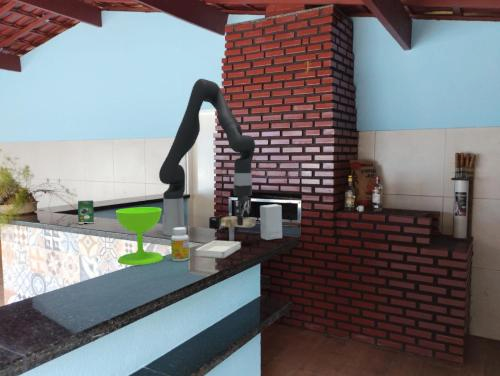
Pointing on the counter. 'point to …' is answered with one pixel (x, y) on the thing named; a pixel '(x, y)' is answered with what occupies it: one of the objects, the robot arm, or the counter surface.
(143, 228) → the wineglass
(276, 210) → the skincare box
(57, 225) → the counter surface
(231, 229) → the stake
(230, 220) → the tan irregular block
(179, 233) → the supplement bottle
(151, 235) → the counter surface
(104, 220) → the counter surface
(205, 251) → the tray
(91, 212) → the coffee box
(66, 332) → the counter surface
